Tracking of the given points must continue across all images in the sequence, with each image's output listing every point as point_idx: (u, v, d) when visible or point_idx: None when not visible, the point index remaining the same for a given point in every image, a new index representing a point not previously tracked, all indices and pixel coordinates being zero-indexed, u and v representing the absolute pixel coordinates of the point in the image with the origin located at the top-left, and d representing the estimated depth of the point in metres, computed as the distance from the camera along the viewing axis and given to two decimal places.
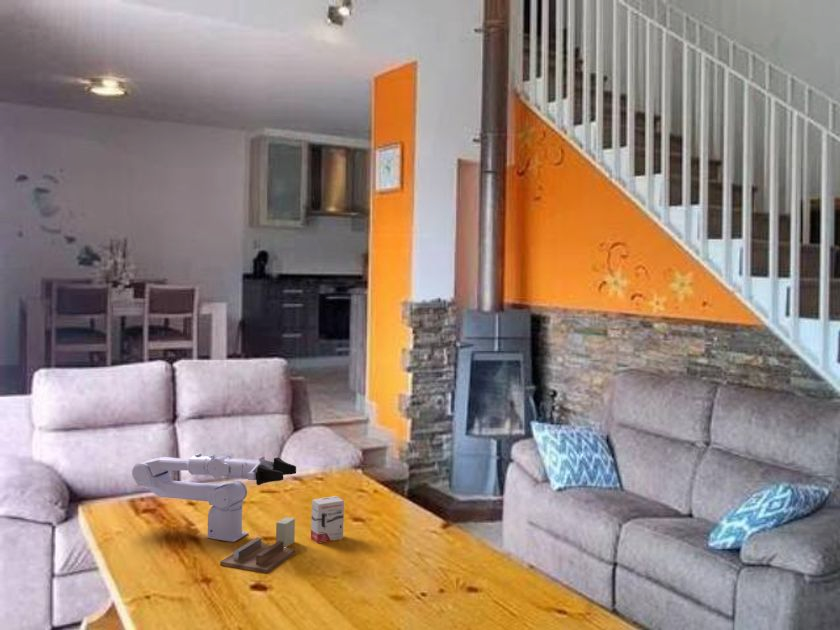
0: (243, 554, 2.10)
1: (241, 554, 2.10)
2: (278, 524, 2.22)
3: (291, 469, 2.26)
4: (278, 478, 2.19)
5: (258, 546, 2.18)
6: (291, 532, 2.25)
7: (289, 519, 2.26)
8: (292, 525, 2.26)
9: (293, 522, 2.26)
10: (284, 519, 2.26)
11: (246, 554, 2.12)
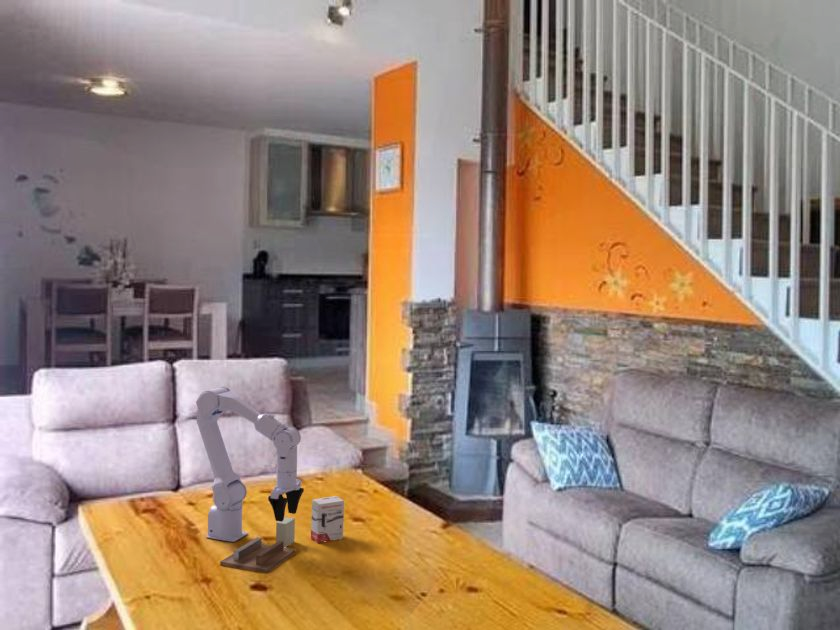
0: (243, 554, 2.10)
1: (241, 554, 2.10)
2: (278, 524, 2.22)
3: (292, 509, 2.28)
4: (276, 517, 2.21)
5: (258, 546, 2.18)
6: (291, 532, 2.25)
7: (289, 519, 2.26)
8: (292, 525, 2.26)
9: (293, 522, 2.26)
10: (284, 519, 2.26)
11: (246, 554, 2.12)
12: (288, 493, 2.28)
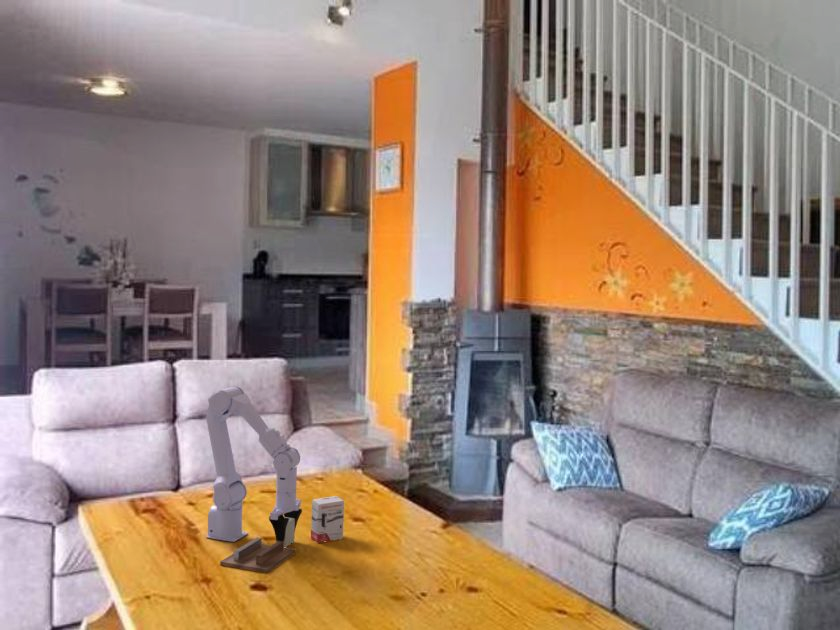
0: (243, 554, 2.10)
1: (241, 554, 2.10)
2: None
3: None
4: (277, 537, 2.22)
5: (258, 546, 2.18)
6: (291, 532, 2.25)
7: (289, 519, 2.26)
8: (292, 525, 2.26)
9: (293, 522, 2.26)
10: None
11: (246, 554, 2.12)
12: (286, 514, 2.28)
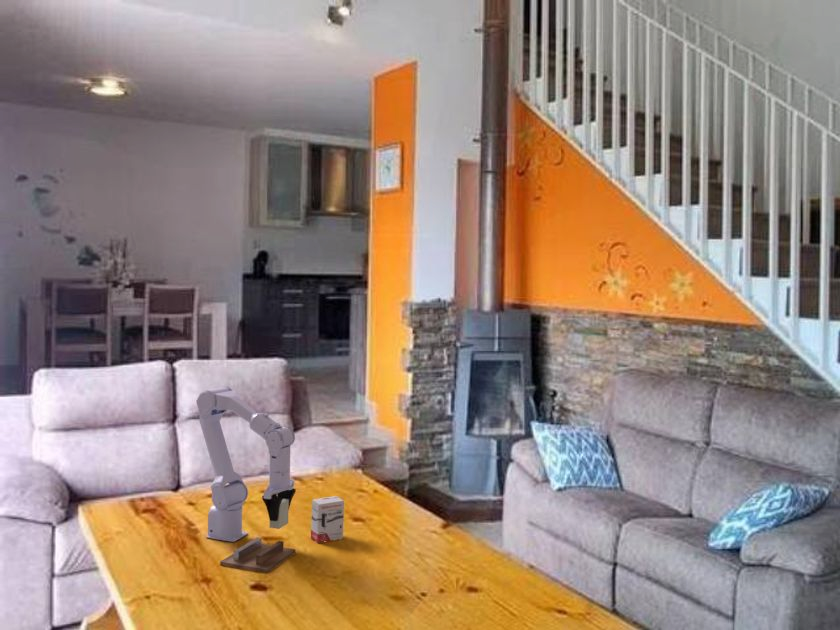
0: (243, 554, 2.10)
1: (241, 554, 2.10)
2: None
3: None
4: (270, 516, 2.18)
5: (258, 546, 2.18)
6: (285, 513, 2.21)
7: (283, 500, 2.22)
8: (286, 506, 2.22)
9: (287, 503, 2.22)
10: None
11: (246, 554, 2.12)
12: (280, 494, 2.24)
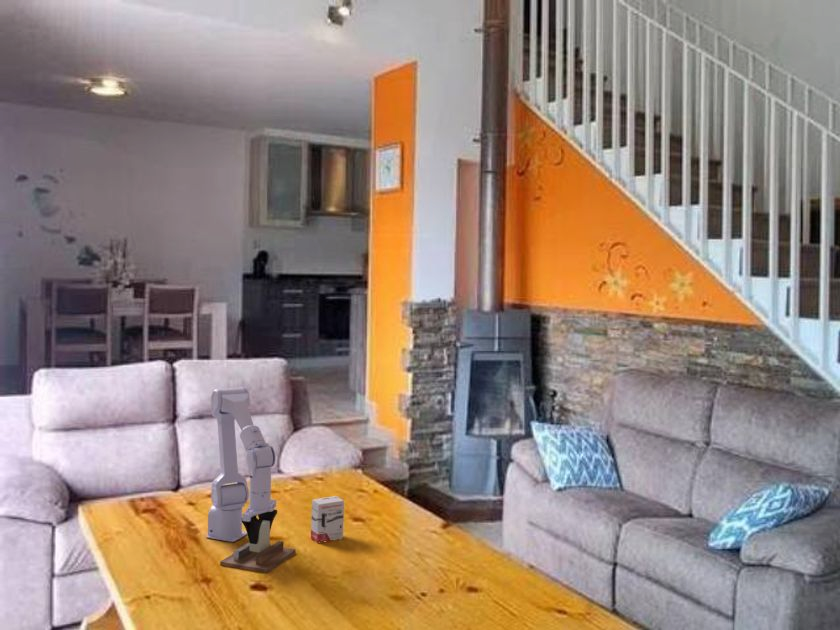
0: (243, 554, 2.10)
1: (241, 554, 2.10)
2: None
3: None
4: (250, 539, 2.10)
5: None
6: (266, 536, 2.13)
7: (264, 522, 2.13)
8: (267, 528, 2.13)
9: (268, 525, 2.14)
10: None
11: (246, 554, 2.12)
12: (261, 515, 2.16)
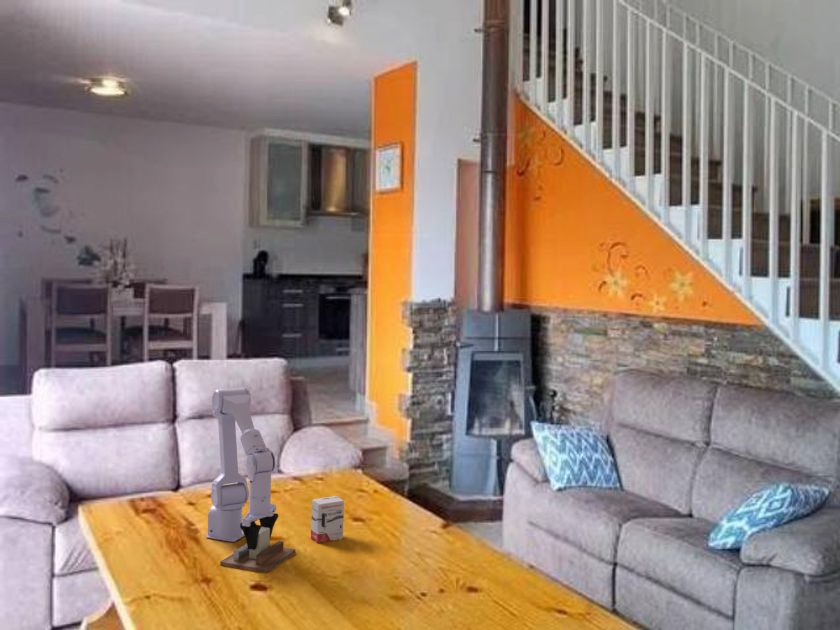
0: (243, 554, 2.10)
1: (241, 554, 2.10)
2: None
3: None
4: (249, 545, 2.09)
5: None
6: (265, 543, 2.13)
7: (264, 529, 2.14)
8: (267, 535, 2.13)
9: (268, 532, 2.14)
10: None
11: (246, 554, 2.12)
12: (262, 519, 2.16)
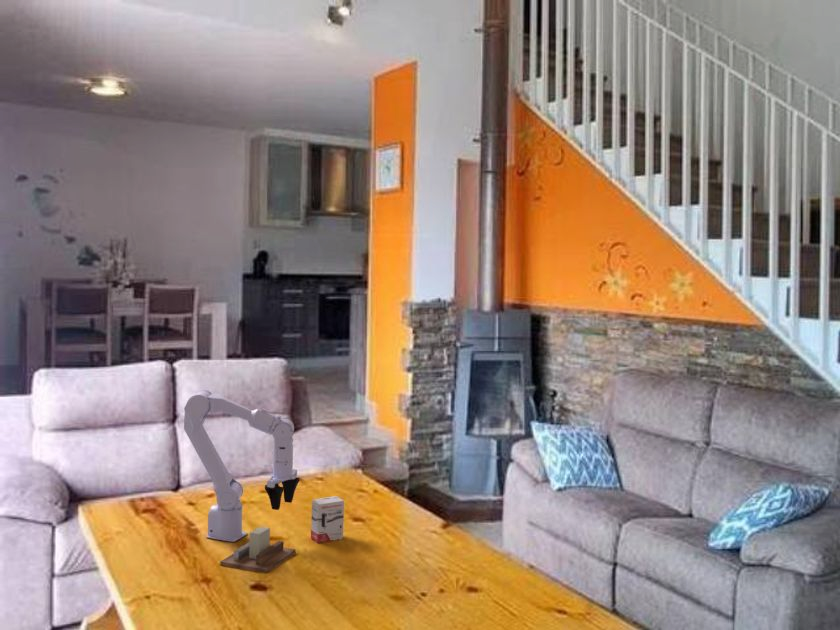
0: (243, 554, 2.10)
1: (241, 554, 2.10)
2: (251, 534, 2.10)
3: (288, 498, 2.34)
4: (273, 505, 2.27)
5: None
6: (265, 543, 2.13)
7: (264, 529, 2.14)
8: (267, 535, 2.13)
9: (268, 532, 2.14)
10: (258, 528, 2.14)
11: (246, 554, 2.12)
12: (284, 482, 2.34)
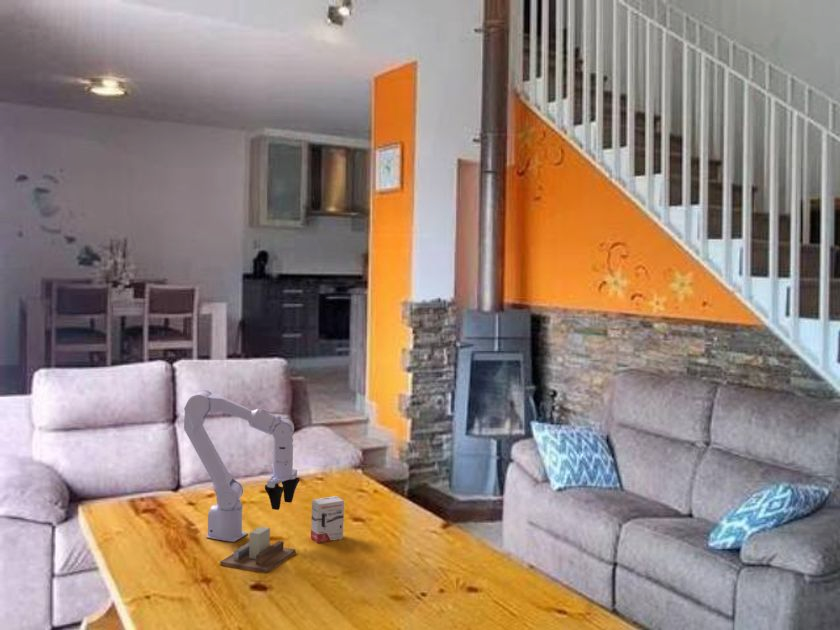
0: (243, 554, 2.10)
1: (241, 554, 2.10)
2: (251, 534, 2.10)
3: (288, 498, 2.34)
4: (273, 505, 2.27)
5: None
6: (265, 543, 2.13)
7: (264, 529, 2.14)
8: (267, 535, 2.13)
9: (268, 532, 2.14)
10: (258, 528, 2.14)
11: (246, 554, 2.12)
12: (284, 482, 2.34)
